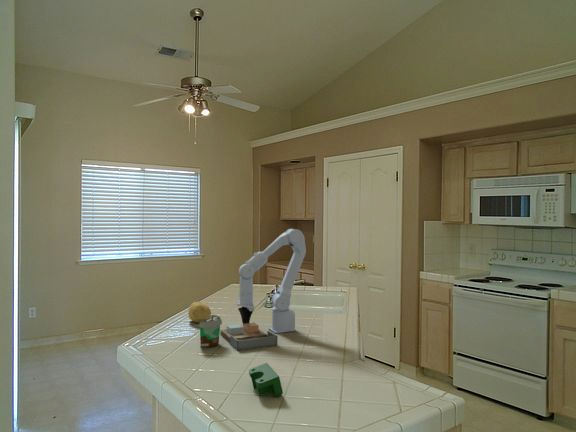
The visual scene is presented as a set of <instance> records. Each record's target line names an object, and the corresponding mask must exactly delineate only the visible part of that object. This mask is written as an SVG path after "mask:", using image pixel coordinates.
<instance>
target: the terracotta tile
mask: <svg viewBox="0 0 576 432" xmlns="http://www.w3.org/2000/svg"><path fill="white" fill-rule="evenodd" d="M259 326H260V325H259V324H257V323H256V322H249V323H245V324H243V323H242V327H243V330H244V331H245V332H247V333H250V332H258V331H259V329H260V327H259Z"/></svg>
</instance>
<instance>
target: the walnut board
mask: <svg viewBox="0 0 576 432" xmlns="http://www.w3.org/2000/svg"><path fill="white" fill-rule="evenodd" d="M219 336H221V337H222V338H223V339H224V340H226V341H227V342H228V343H229V344H230V334H229V333H228V332H227V328H226V329H225V328H224V329H220V334H219ZM232 336H233V337H235V338H236V339H237V340H246V339H254V338H262V337H267V332H266V333H265V332H264V331H263V330H261V329H260V328H259V331H258V332H250V333H247V332H245V331H244V330H243V326H242V333H241V334H233V335H232Z"/></svg>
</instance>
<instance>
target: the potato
mask: <svg viewBox="0 0 576 432" xmlns="http://www.w3.org/2000/svg"><path fill="white" fill-rule="evenodd" d="M211 315H212V311H211V308H210V307H209V306H208V305H207V304H206V303H204V302H202V301H194V302H192V303H191V304H190V306H189V307H188V319H189V320H191V321H192V322H193V323H198V324H200V322H204V321H205V320H206V319H209V318H211Z"/></svg>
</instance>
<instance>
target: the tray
mask: <svg viewBox="0 0 576 432" xmlns="http://www.w3.org/2000/svg"><path fill="white" fill-rule="evenodd" d="M266 334H267V337H262V338H254V339H246V340H237V339H236V338H235V337H233V336H232V335H230V343H229V345H230V346H232V348H233V349H235V350H236V351H244V350H245V351H246V350H252V349H259V348H265V347H266V348H267V347H275V346H276V347H277V346H278V335H277V334H276V333H274V332H273V331H271V330H267V332H266Z"/></svg>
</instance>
